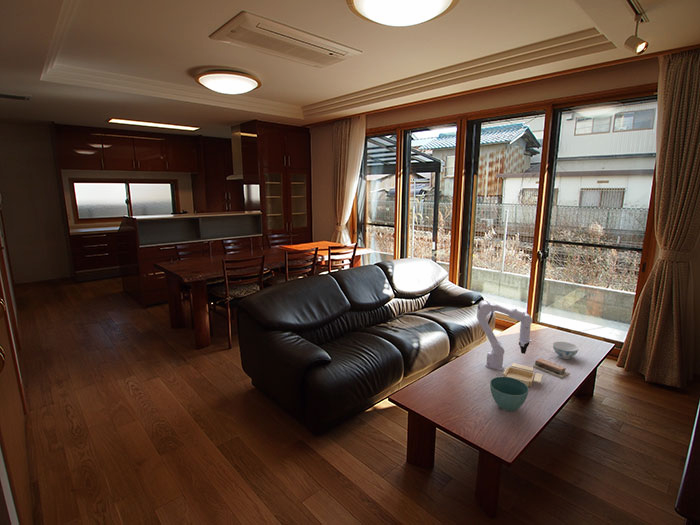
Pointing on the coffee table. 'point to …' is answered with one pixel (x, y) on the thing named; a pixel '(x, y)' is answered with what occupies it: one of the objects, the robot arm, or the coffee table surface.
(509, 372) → the carton
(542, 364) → the packaged product
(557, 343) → the chinaware
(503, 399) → the teal green bowl
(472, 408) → the coffee table surface
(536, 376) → the far flap
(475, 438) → the coffee table surface
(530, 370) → the left flap
